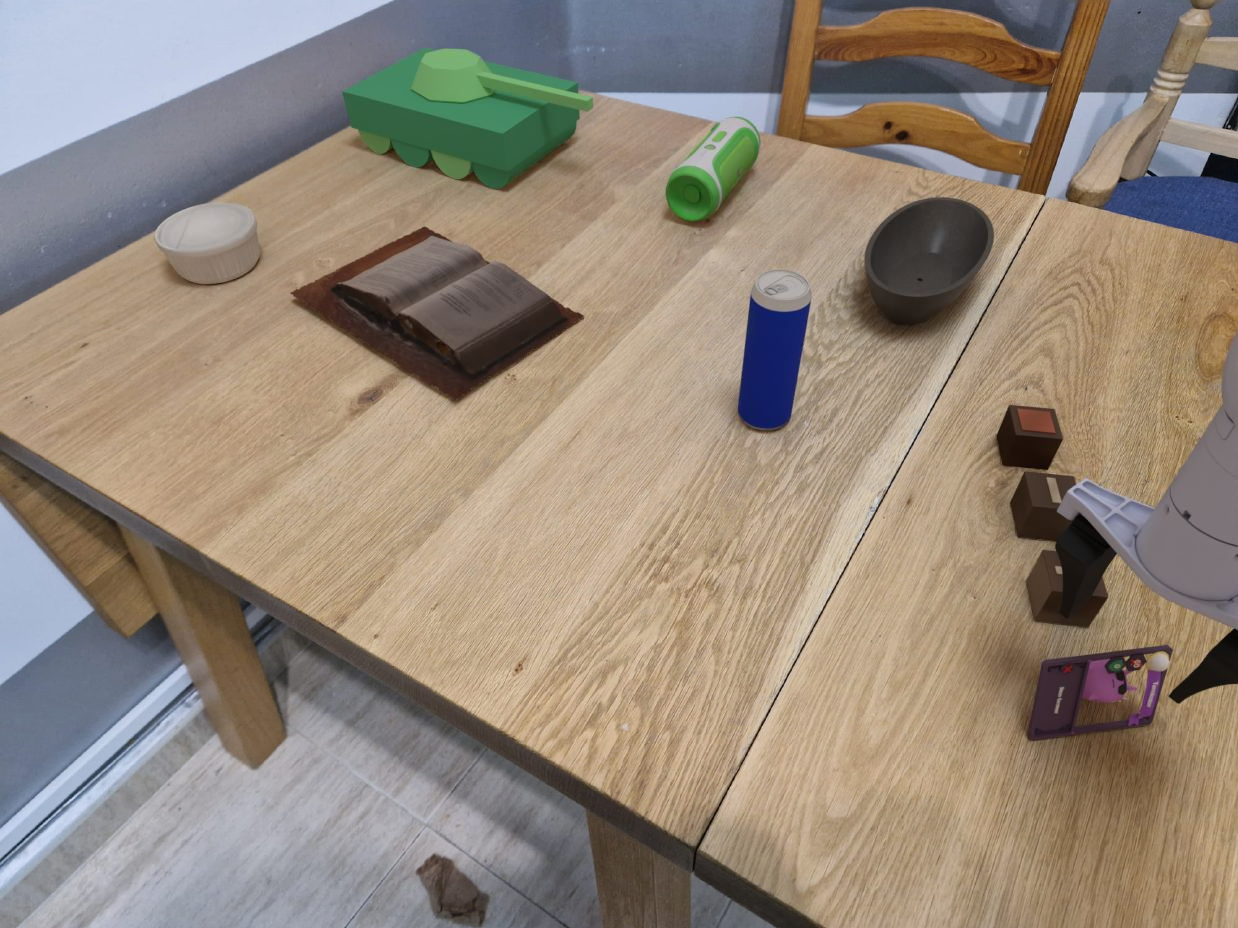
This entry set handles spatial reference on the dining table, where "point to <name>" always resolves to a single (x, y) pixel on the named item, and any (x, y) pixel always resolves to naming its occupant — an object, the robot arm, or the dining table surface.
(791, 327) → the beverage can
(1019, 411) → the brown box
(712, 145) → the speaker
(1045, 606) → the brown box
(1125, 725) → the game card
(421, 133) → the toy tank
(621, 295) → the dining table surface
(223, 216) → the ramekin
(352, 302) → the book
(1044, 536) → the brown box
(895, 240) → the bowl
